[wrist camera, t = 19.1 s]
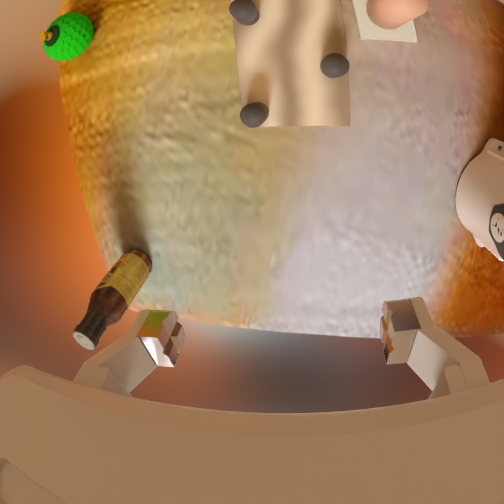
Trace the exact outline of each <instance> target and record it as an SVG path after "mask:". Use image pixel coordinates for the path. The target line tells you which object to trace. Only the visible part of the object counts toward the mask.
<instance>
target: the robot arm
mask: <svg viewBox="0 0 504 504" xmlns="http://www.w3.org/2000/svg"><path fill="white" fill-rule="evenodd" d="M498 147H499V149H498ZM456 209H457V214H458V217H459V219H460V221H461V223H462V224H463V225H464V227H465V228H466V229H468V230H469V231H470V232H471V233H472V234H473V237H474V240H475V242H476V244H477V245H479V246H480V247H486V248H487V249H489V250H490V251H491V252H492V253H493V254H494V255H495V256H496V257H497V258H498V259H499V260H501V261H504V142H503V141H501V140H498V139H496V138H490V139H489V140H488V141H487V143H486V145H485V147H484V149H483V151H482V152H481V153H480V154H479V155H478V156H476V157H475V158H474V159H473V160H472V161H471V162H470V163H469V164H468V165H467V167H466V168H465V170H464V171H463V173H462V175H461V178H460V180H459V183H458V187H457V192H456ZM382 311H383V316H382V317H381V320H380V337H381V342H383V343H384V344H385V346H384V356H385V360H386V364H396V363H405V362H407V364H408V365H409V366H410V367H411V368H412V369H413V370H414V371H415V372H416V374H417V375H418V376H419V377H420V378H421V379H422V380H423V381H424V382H425V383H426V384H427V386H428V387H429V388H430V389H431V390H432V391H433V392H432V393H431V395H430V397H429V398H428V400H423V401H418V402H413V403H407V404H401V405H395V406H388V407H380V408H373V409H364V410H354V411H341V412H325V413H293V414H291V413H290V414H289V413H288V414H287V413H284V414H283V413H282V414H281V413H279V414H278V413H249V412H232V411H220V410H210V409H201V408H192V407H185V406H178V405H171V404H165V403H159V402H153V401H148V400H143V399H138V398H133V397H132V396H131V395H130V394H129V393H130V391H132V389H134V388H135V387H136V386H137V385H138V384H139V383H140V382H141V381H142V380H143V379H144V378H145V377H146V376H148V375H149V374H150V373H151V372H152V371H153V370H154V369H155V368H156V367H157V366H166V367H167V366H168V367H174V366H175V364H176V361H177V359H178V356H179V354H178V350H179V349H180V348H181V347H182V346H183V344H184V338H185V333H184V329H183V327H182V325H181V324H180V323H178V322H177V320H178V316H177V314H176V312H175V311H167V310H142V311H140V313H139V315H138V316H137V318H136V320H135V322H134V323H133V325H132V326H131V328H130V330H129V331H128V333H127V335H126V336H122V337H120V338H119V339H117V340H116V341H114V342H113V343H112V344H110V345H109V346H107V347H106V348H104V349H103V350H101V351H100V352H98V353H97V354H95V355H94V356H93V357H91V358H90V359H88V360H87V361H85V362H84V364H83V365H82V367H81V369H80V370H79V372H78V374H77V375H76V377H75V379H74V380H73V382H72V381H69V380H66V379H63V378H60V377H57V376H53V375H51V374H48V373H45V372H42V371H39V370H37V369H35V368H32V367H30V366H27V365H20V366H19V367H16V368H14V369H12V370H11V371H9V372H8V373H6V374H4V375H3V376H1V377H0V504H504V379H502V380H499V381H496V382H493V383H489V380H488V377H487V374H486V372H485V369H484V366H483V364H482V361H481V359H480V357H478V356H477V355H476V354H474V353H473V352H472V351H470V350H469V349H468V348H466V347H465V346H464V345H462V344H461V343H460V342H458V341H457V340H456V339H454V338H453V337H452V336H450V335H449V334H448V333H446V332H445V331H443V330H442V329H441V328H439V327H434V324H433V322H432V319H431V317H430V315H429V312H428V310H427V307H426V305H425V303H424V301H423V298H421V297H416V298H409V299H401V300H393V301H384V303H383V307H382Z"/></svg>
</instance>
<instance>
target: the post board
mask: <svg viewBox="0 0 504 504" xmlns="http://www.w3.org/2000/svg"><path fill="white" fill-rule="evenodd" d="M229 11H230V13H231V15H232V17H233V27H234V37H235V46H236V56H237V66H238V76H239V86H240V96H241V106H242V110H241V112H240V118H241V121H242V122H243V126H244V128H255V127H271V126H350V116H349V88H348V70H349V62H348V60H347V57H346V45H345V35H344V26H343V17H342V10H341V2H340V0H231V4H230V7H229Z"/></svg>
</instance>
